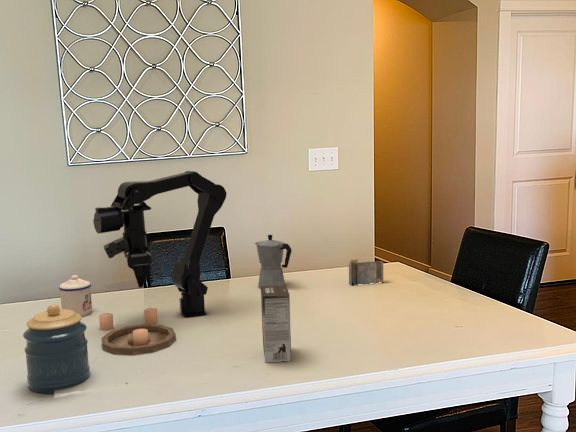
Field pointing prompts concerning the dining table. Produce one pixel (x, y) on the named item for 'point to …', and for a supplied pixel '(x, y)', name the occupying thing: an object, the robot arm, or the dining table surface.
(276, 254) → the coffeepot
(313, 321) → the dining table surface
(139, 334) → the bead
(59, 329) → the canister
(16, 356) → the dining table surface
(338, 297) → the dining table surface
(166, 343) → the groove tray
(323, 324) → the dining table surface
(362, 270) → the grey spool block
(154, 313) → the bead
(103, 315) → the bead
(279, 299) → the coffee box
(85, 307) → the white lidded jar
